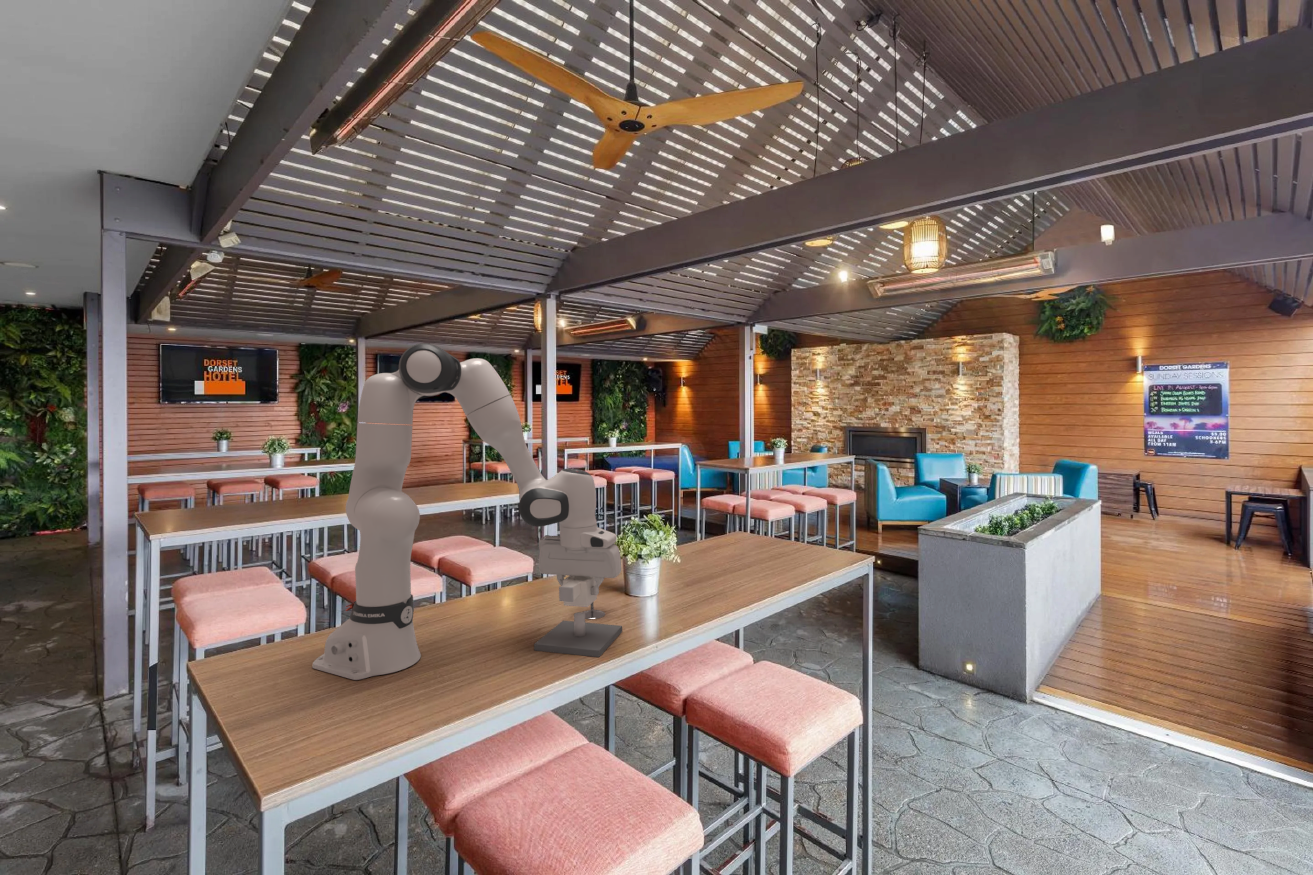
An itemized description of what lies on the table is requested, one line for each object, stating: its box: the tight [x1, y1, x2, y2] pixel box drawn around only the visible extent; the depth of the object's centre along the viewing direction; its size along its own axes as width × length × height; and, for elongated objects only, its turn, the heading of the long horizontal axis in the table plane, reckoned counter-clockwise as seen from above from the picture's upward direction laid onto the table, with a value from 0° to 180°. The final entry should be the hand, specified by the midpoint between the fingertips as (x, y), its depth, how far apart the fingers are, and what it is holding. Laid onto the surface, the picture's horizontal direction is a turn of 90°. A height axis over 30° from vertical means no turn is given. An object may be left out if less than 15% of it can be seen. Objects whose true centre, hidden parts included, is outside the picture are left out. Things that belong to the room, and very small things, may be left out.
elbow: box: [558, 576, 598, 608], centre depth 142 cm, size 11×6×6 cm, turn 165°
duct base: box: [533, 611, 623, 658], centre depth 145 cm, size 16×16×6 cm
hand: (580, 593), depth 145 cm, fingers closed on elbow, 6 cm apart
